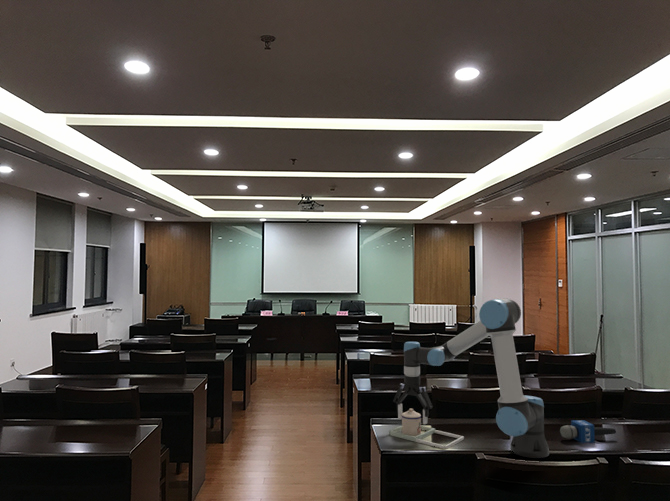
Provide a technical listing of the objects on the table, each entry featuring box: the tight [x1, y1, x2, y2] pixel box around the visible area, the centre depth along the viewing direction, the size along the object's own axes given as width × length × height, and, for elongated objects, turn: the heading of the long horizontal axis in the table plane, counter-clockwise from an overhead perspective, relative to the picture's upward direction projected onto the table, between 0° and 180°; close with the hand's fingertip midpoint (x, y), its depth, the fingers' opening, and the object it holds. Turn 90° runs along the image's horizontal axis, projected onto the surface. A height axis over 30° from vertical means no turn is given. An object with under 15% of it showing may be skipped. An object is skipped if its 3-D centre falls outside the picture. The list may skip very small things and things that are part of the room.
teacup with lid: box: [401, 408, 422, 437], centre depth 228 cm, size 12×9×12 cm
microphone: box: [559, 419, 617, 444], centre depth 220 cm, size 8×8×25 cm
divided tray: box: [388, 424, 465, 450], centre depth 223 cm, size 29×17×2 cm, turn 49°
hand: (412, 421), depth 228 cm, fingers open, 13 cm apart
